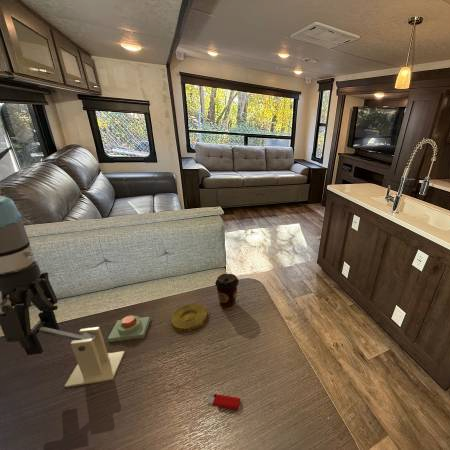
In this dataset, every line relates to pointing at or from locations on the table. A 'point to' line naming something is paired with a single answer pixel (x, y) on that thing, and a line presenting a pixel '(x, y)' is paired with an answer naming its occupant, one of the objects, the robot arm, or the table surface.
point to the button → (128, 321)
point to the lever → (59, 332)
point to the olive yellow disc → (188, 317)
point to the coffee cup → (227, 290)
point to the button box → (129, 330)
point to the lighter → (224, 401)
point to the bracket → (93, 360)
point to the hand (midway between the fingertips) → (44, 341)
